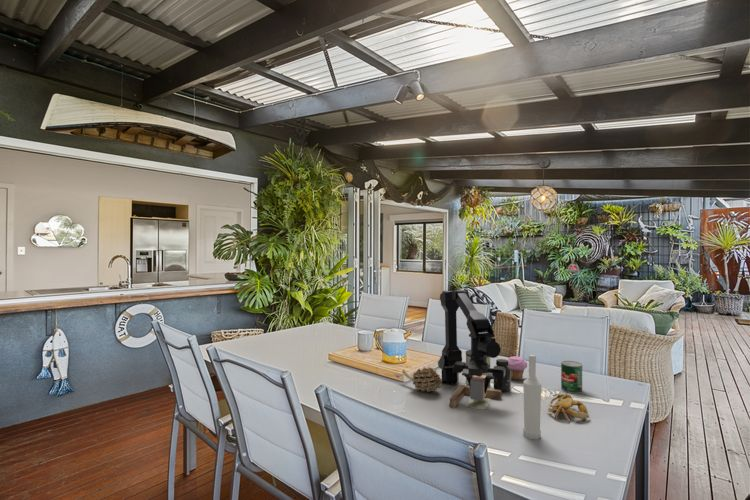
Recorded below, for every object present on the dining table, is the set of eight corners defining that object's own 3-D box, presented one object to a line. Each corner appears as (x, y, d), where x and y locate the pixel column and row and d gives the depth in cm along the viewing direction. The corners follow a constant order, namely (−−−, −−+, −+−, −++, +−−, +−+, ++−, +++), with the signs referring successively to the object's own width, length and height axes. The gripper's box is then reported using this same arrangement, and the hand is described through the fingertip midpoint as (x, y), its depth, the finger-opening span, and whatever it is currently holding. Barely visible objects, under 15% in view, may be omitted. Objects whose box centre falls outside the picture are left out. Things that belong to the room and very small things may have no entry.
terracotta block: (474, 392, 158) (474, 373, 158) (486, 393, 156) (486, 375, 156) (470, 399, 151) (470, 380, 151) (482, 400, 149) (482, 381, 149)
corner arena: (449, 406, 150) (449, 398, 150) (460, 391, 165) (460, 384, 165) (494, 414, 143) (494, 405, 143) (501, 397, 159) (501, 390, 159)
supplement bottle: (511, 393, 164) (511, 363, 164) (494, 391, 166) (494, 362, 165) (509, 387, 171) (509, 358, 171) (492, 386, 172) (492, 357, 172)
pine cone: (448, 393, 164) (448, 368, 164) (433, 399, 157) (433, 373, 157) (407, 380, 180) (407, 357, 180) (392, 385, 173) (392, 362, 173)
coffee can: (466, 380, 180) (466, 348, 180) (491, 382, 176) (491, 350, 176) (464, 387, 170) (464, 354, 170) (489, 390, 167) (489, 356, 167)
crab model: (588, 427, 134) (588, 410, 133) (546, 419, 140) (546, 403, 140) (590, 410, 147) (590, 395, 147) (551, 403, 153) (551, 389, 153)
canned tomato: (582, 388, 169) (582, 362, 169) (582, 394, 162) (582, 367, 162) (561, 385, 173) (561, 359, 173) (560, 391, 165) (561, 364, 165)
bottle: (520, 432, 129) (520, 353, 129) (536, 431, 130) (536, 353, 130) (527, 440, 124) (528, 357, 124) (544, 439, 125) (544, 357, 124)
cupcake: (505, 380, 180) (505, 357, 180) (506, 374, 188) (506, 353, 188) (526, 383, 176) (526, 359, 176) (527, 377, 184) (527, 354, 184)
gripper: (448, 353, 150) (448, 395, 150) (501, 359, 142) (501, 403, 142) (456, 346, 160) (455, 386, 160) (505, 351, 152) (505, 393, 152)
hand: (478, 392), depth 154 cm, fingers closed on terracotta block, 4 cm apart
